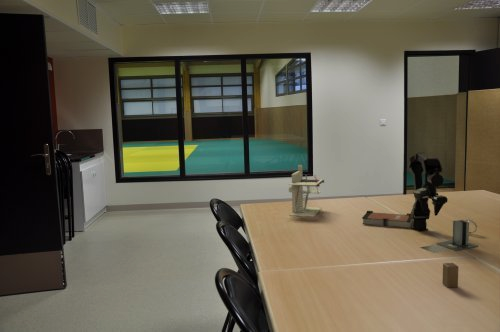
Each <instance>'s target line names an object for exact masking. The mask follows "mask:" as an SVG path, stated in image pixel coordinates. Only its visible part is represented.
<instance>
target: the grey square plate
mask: <svg viewBox="0 0 500 332" xmlns="http://www.w3.org/2000/svg"><path fill="white" fill-rule="evenodd" d="M419 248H420V249H422V250H425V251H427V252H430V253H433V254H437V253H442V252H447V251H449V249H448V248H445V247H442V246H440V245H437V244H436V245H435V244H431V245H425V246H421V247H419Z"/></svg>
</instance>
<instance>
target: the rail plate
mask: <svg viewBox="0 0 500 332" xmlns="http://www.w3.org/2000/svg"><path fill="white" fill-rule="evenodd" d="M436 246H439V247H442V248H445V249H448V250H451V251H454V252H458V251H463V250H468V249H472V248H479V245H478V244H474V243H472V242H468V246H467V247H464V246H462V248H461V247H458V246H455V245H453V239H452V240H446V241H441V242H436Z"/></svg>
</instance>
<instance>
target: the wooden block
mask: <svg viewBox="0 0 500 332" xmlns="http://www.w3.org/2000/svg"><path fill="white" fill-rule="evenodd" d="M442 284H443V285H444V286H445V287H446V288H449V289H450V288H459V266H458V265H457V264H455V263H453V262H445V263H442Z"/></svg>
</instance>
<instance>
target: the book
mask: <svg viewBox="0 0 500 332" xmlns="http://www.w3.org/2000/svg"><path fill="white" fill-rule="evenodd" d="M361 219H362V225H363V224H364V225H365V226H376V227H388V228H401V229H411V228H412V226H413V219H412V218H411V215H410V213H406V214H401V213H400V214H398V213H386V212H374V211H373V210H367V211H366V213H365V214H364V215H363V216H362V217H361Z"/></svg>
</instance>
